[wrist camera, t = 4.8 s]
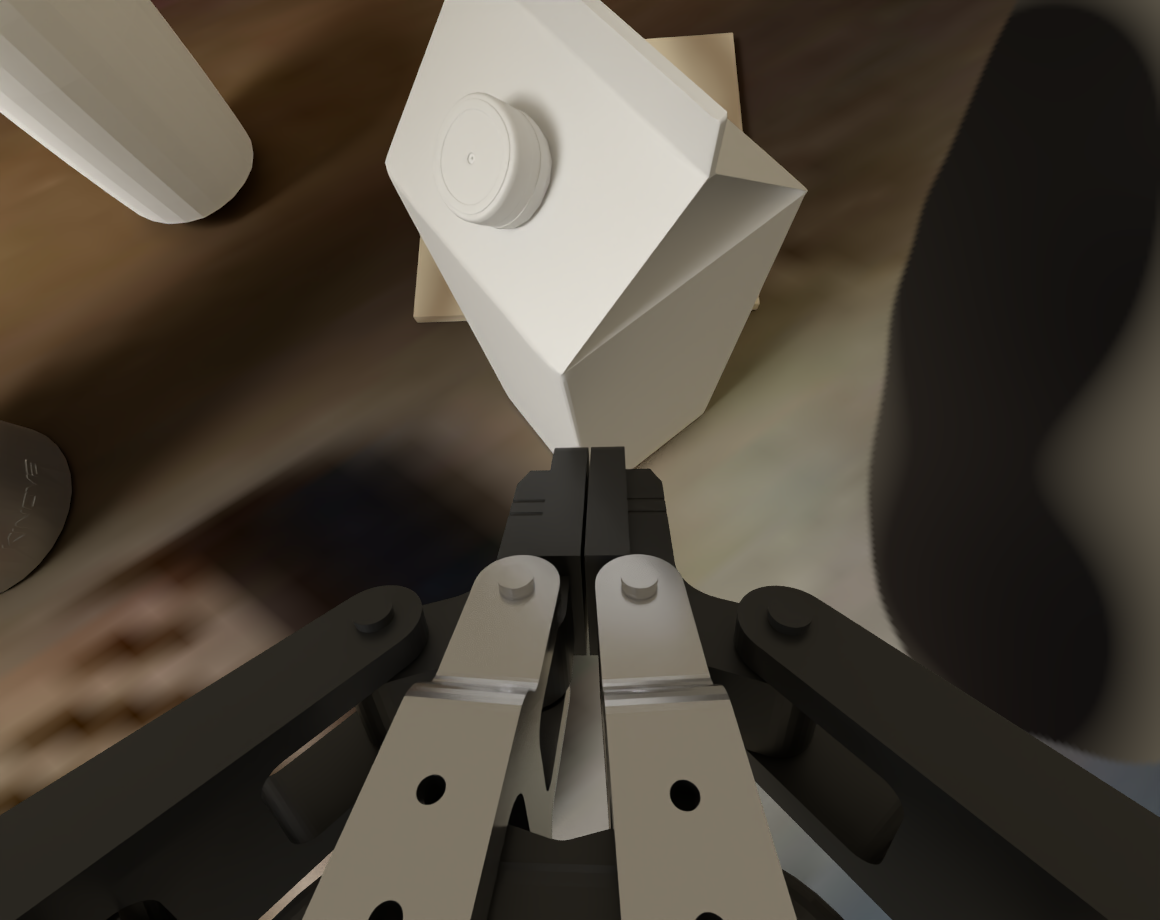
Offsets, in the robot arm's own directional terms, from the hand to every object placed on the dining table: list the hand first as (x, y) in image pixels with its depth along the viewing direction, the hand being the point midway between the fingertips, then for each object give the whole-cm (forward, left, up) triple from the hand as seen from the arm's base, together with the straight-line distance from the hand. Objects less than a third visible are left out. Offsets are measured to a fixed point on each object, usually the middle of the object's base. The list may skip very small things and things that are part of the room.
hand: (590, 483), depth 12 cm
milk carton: (0, +7, -14) cm, 16 cm away
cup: (-24, +22, -14) cm, 35 cm away
